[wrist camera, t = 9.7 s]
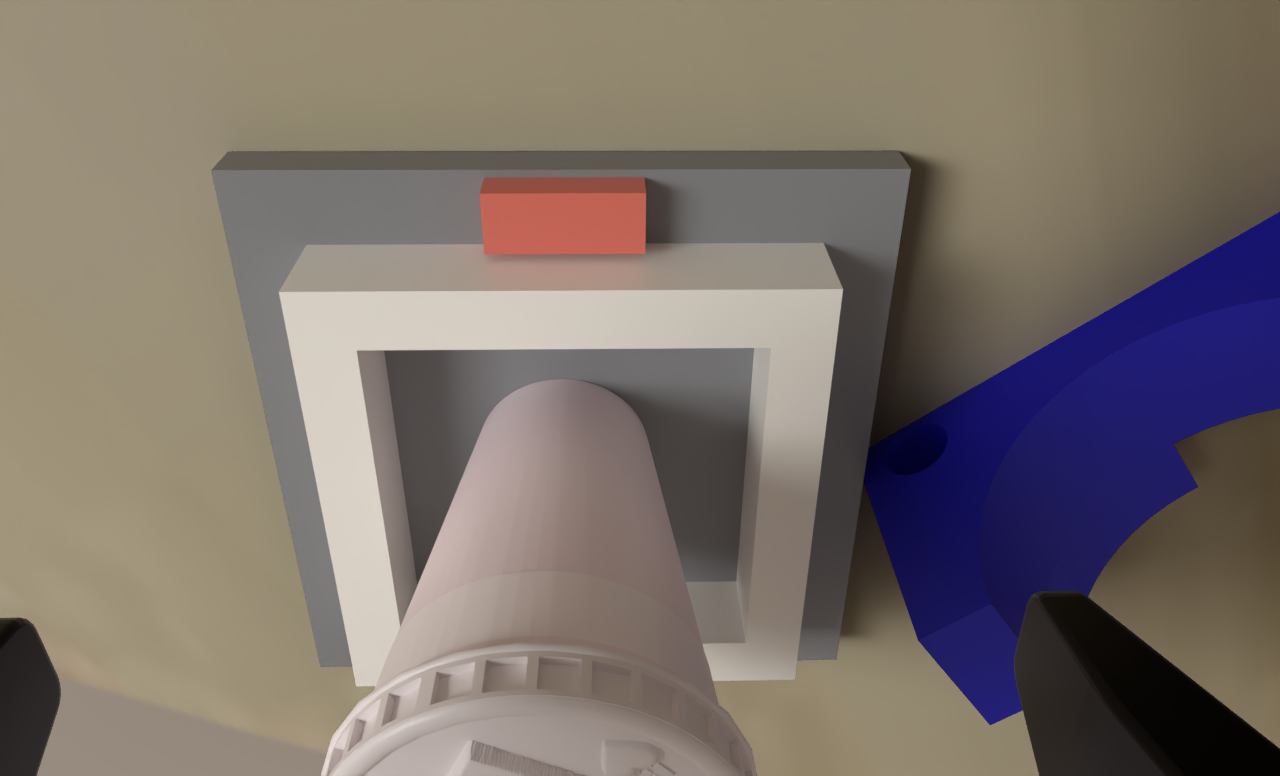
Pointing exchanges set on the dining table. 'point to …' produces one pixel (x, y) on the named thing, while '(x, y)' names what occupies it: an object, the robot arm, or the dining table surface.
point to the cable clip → (1069, 456)
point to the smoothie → (549, 617)
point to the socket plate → (572, 358)
